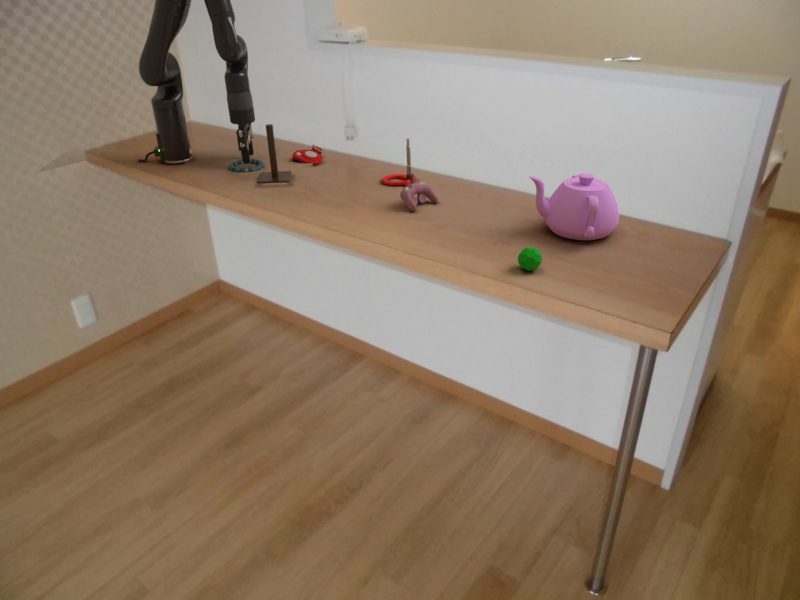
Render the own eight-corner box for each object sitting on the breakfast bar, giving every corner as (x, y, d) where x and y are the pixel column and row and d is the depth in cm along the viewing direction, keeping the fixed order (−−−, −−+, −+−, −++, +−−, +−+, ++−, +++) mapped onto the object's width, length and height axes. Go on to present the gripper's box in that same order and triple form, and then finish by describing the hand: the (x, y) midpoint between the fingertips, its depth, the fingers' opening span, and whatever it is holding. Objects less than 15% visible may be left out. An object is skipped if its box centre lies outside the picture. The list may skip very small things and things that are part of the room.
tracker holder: (324, 162, 194) (292, 156, 192) (322, 174, 197) (290, 168, 195) (324, 143, 203) (294, 137, 201) (322, 155, 206) (292, 149, 204)
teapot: (517, 213, 157) (522, 160, 151) (603, 213, 157) (611, 160, 150) (530, 249, 138) (536, 191, 131) (628, 250, 137) (639, 191, 131)
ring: (226, 176, 187) (225, 169, 186) (231, 165, 197) (230, 159, 196) (262, 174, 188) (262, 168, 187) (266, 164, 197) (265, 157, 196)
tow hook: (377, 185, 179) (407, 187, 175) (374, 141, 173) (405, 142, 169) (389, 177, 186) (417, 179, 182) (386, 134, 179) (415, 135, 176)
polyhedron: (512, 269, 130) (514, 248, 128) (525, 261, 133) (527, 241, 131) (532, 276, 127) (534, 255, 125) (545, 268, 130) (547, 248, 127)
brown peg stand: (258, 186, 178) (251, 129, 170) (262, 176, 186) (255, 121, 178) (289, 185, 179) (283, 128, 171) (292, 175, 187) (286, 120, 178)
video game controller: (429, 205, 168) (421, 180, 166) (440, 201, 164) (432, 176, 163) (403, 215, 162) (394, 189, 160) (414, 211, 158) (405, 185, 157)
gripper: (232, 102, 193) (240, 153, 201) (224, 111, 180) (232, 166, 188) (256, 101, 193) (263, 152, 201) (249, 110, 181) (257, 164, 189)
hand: (248, 158), depth 195 cm, fingers open, 8 cm apart
